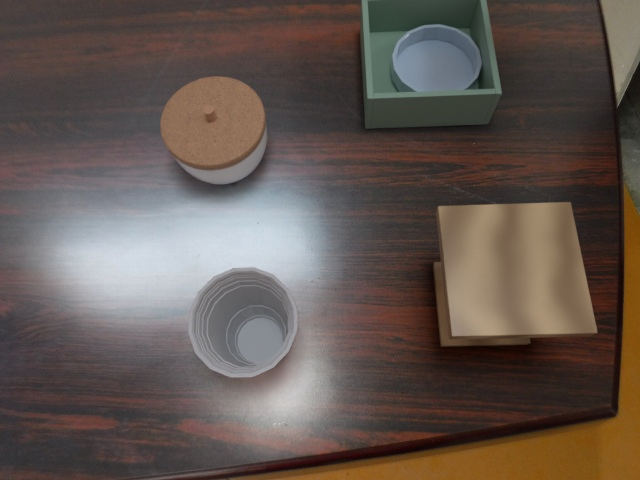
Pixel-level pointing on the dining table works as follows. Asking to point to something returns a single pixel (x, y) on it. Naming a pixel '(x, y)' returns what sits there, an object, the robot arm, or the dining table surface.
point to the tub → (425, 106)
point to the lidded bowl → (215, 129)
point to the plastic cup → (242, 322)
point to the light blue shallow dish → (435, 60)
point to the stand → (510, 275)
